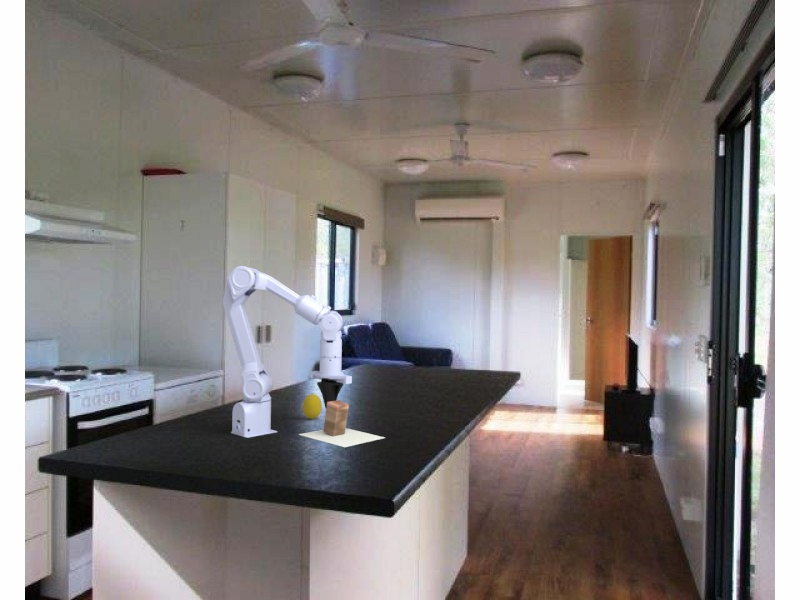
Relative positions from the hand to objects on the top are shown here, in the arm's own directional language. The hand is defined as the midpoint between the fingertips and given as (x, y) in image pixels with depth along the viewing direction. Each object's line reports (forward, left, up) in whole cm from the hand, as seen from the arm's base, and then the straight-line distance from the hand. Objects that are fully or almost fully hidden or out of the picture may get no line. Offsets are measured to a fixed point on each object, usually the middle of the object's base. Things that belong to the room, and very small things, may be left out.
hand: (329, 408), depth 152 cm
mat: (0, -5, -7) cm, 8 cm away
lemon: (+8, +17, -7) cm, 20 cm away
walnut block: (0, -2, -6) cm, 6 cm away
